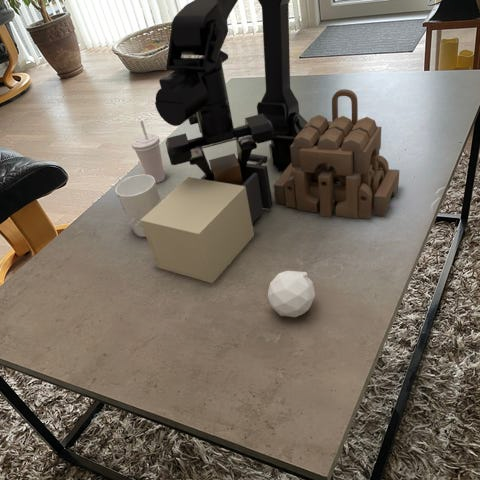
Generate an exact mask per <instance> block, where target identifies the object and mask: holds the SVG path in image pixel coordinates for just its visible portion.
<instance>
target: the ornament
mask: <svg viewBox="0 0 480 480" xmlns="http://www.w3.org/2000/svg"><path fill="white" fill-rule="evenodd" d="M314 287H315V286H314V283H313V281H312V280H311V279H310V278H309V277H308V272H307V271H296V270H284V271H282V272H278V274H277V275H276V276H274V278H273V279H272V280H271V282H270V283H269V285H268V291H267V299H268V302H269V306H270V307H271V308H272V309H273V310H274V311H275V312H276V313H277V314H279V316H280V317H290V318H297V317H299V316H302V315H304V314H305V313H306V312H308V311H309V310H310V308H311V307H312V304H313V302H314V299H315V297H316V294H315V288H314Z"/></svg>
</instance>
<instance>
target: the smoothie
mask: <svg viewBox="0 0 480 480" xmlns="http://www.w3.org/2000/svg"><path fill="white" fill-rule="evenodd" d="M139 123H140V126H141V129H142V132H143V134H142V135H139V136H137V137H135V138H134V139H133V140H132V141H131V148H132V150H133V151H134V152H135V154H136V156H137V158H138V159H139V161H140V163H141V166H142V168H143V170H144V172H145V174H146V175H151V176H153V177H154V179H155V182H156V184H159V183H161V182H164V180H165V178H166V175H165V170H164V163H163V157H162V151H161V146H160V143H161V140H160V137H159V135H158V134H156V133H147V131H146V128H145V124H144V121H143V120H139Z"/></svg>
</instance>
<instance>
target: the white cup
mask: <svg viewBox="0 0 480 480" xmlns="http://www.w3.org/2000/svg"><path fill="white" fill-rule="evenodd" d="M158 189H159V188H158V185H157V183H156V182H155V179H154V177H153V176H151V175H147V174H146V173H145V174H144V173H143V174H135V175H132V176H129V177H126V178H125V179H123V180H121V181H119V183H118V184H117V185H116V187H115V190H114V191H115V194H116V196H117V198H118V200H119V203H120V205H121V208H122V210H123V211H124V213H125V215H126V219H127V220H128V221H129V223H130V225H131V227H132V230H133V232H134V234H135V235H137V236H138V237H142V238H147V237H146V235H145V232H144V229H143V227H142V224H141V221H140V220H141V219H142V218H143V217H144V216H145V215H146V214H148V213H149V212H150V211H151V210H152V209H153V208H154V207H155V206H157V205H158V204H159V203H160V202H161V201H162V200H161V197H160V193H159V190H158Z"/></svg>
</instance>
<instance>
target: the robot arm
mask: <svg viewBox="0 0 480 480" xmlns="http://www.w3.org/2000/svg"><path fill="white" fill-rule="evenodd" d="M238 1H239V0H193V1H191V2H189V3H187V4H185V5H184V6H183V7H182V8H181V9H180V10H179V12H177V13H176V15H175V16H173V19H172V21H171V26H170V36H169V45H168V50H167V51H168V52H167V57H166V58H167V59H166V66H165V68H166V71H167V72H171V73H170V74H168V75H165V76H162V77H161V78H160V79H159V81H158V82H159V87H160V88H159V89H158V90H157V92H156V93H155V101H154V102H155V103H154V104H155V108H156V111H157V113H158V115H159V117H161V118H162V120H163V121H164V122H165V123H167V124H168V125H171V126H174V127H179V126H182V125H183V124H184V123H185V122H187V121H188V123H189V125H191V126H192V125H198V130H199V133H200V134H201V136H198V137H195V138H191V139H188V136H187V133H186V132H185V133H182V134H177V135H174V136H169V137H167V138H166V140H165V146H166V152H167V154H168V158H169V162H170V165H171V166H177V165H182V164H186V163H189V165H191V166H195V165H196V167H198V168H199V169H200V170H201V171H202V173H204V175H206V176H207V178H208V179H209V180H210V181H214V177H213V175H212V172H211V167H210V163H209V161H208V159H207V157H206V154H205V151H204V149H206V148H211V147H214V146H217V145H222V144H226V143H229V142H234V141H235V145H236V153H237V158H238V162H239V165H240V169H241V175H242V179H243V178H244V174H245V169H246V165H247V163H249V161H248V159H249V157H250V154H252V151H253V150H256V149H257V148H258V145H259V144H262V143H266V142H267V143H268V142H270V143H269V144H268V150H269V156H270V162H271V164H272V166H273V167H275V169H276V171H277V172H284V171H285V170H286V169H287V167H288V166H289V165H290V163H291V162H292V161H291V151H290V146H291V145H292V144H293V142H294V139H295V137H296V136H297V135H298V134H299V133H300V131H301V130H302V129H304V127H305V125H306V124H307V123H308V122H309V121H307V120H306V119H305V118H304V117H303V116H302V114H300V106H299V105H300V104H299V100H298V99H297V97H296V96H295V94H294V92H293V91H292V89H291V61H290V59H291V58H290V57H291V56H290V18H289V17H290V13H289V5H290V1H291V0H257V1H258V3H259V5H260V7H261V19H262V40H263V41H262V42H263V59H264V60H263V61H264V80H265V81H264V82H265V92H264V94H263V97H262V99H261V100H260V101H258V102H257V105H256V112H257V114H254V115H251V116H248V117H245V118H244V124H243V125H239V126H236V127H234V123H233V118H232V111H231V108H230V106H231V105H230V101H229V100H230V99H229V95H228V90H227V85H226V78H225V73H224V67H223V63H224V62H226V61H227V60H228V59H229V54H227V53H226V52H224V50H222V48H223V46H224V43H225V41H226V38H227V36H228V33H229V25H228V19H229V17H230V15H231V13H232V11H233V9H234V8H235V6H236V4H237V3H238ZM182 56H196V57H182ZM197 56H198V57H197ZM199 56H200V57H199Z"/></svg>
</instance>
